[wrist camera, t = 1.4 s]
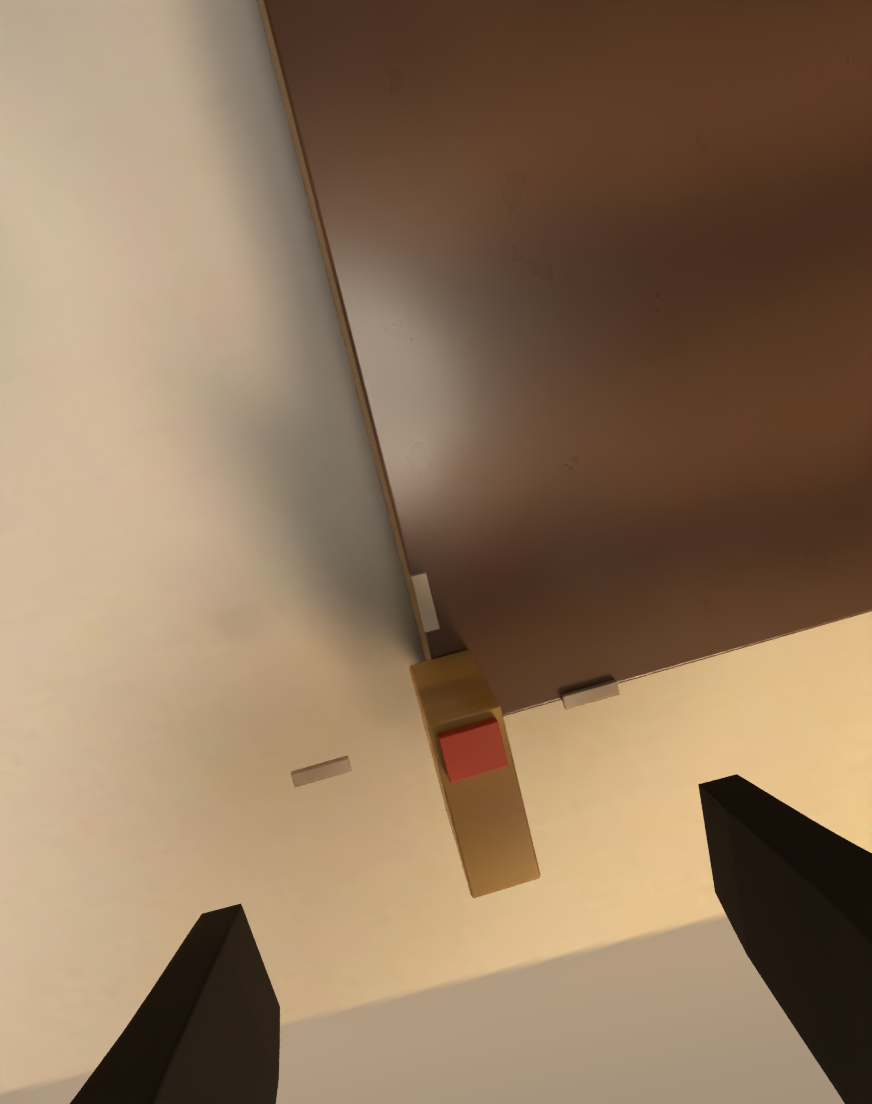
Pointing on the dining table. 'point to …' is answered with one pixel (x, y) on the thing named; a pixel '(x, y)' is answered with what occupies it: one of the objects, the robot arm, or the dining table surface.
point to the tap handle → (475, 773)
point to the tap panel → (600, 316)
